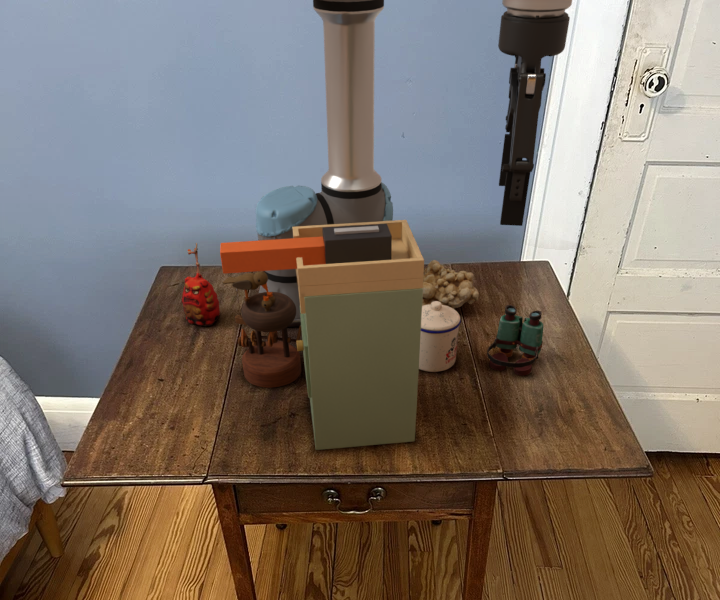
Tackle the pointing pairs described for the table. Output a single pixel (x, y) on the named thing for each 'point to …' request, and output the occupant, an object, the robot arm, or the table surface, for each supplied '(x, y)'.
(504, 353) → the binoculars
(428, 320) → the teacup with lid
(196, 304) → the red clay folk toy
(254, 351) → the music box
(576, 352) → the table surface
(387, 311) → the drawer stand
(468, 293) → the mineral formation
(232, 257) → the bar
